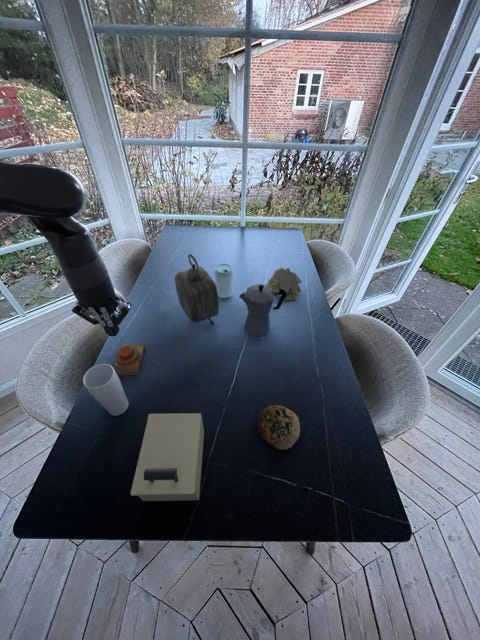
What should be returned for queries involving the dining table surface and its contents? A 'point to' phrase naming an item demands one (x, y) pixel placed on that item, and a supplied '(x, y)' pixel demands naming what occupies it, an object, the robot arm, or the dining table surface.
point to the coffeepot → (260, 307)
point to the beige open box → (197, 483)
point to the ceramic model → (286, 283)
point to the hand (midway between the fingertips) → (114, 333)
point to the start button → (126, 353)
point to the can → (223, 280)
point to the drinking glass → (106, 388)
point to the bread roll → (279, 427)
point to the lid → (168, 455)
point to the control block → (129, 361)
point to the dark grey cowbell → (197, 293)
